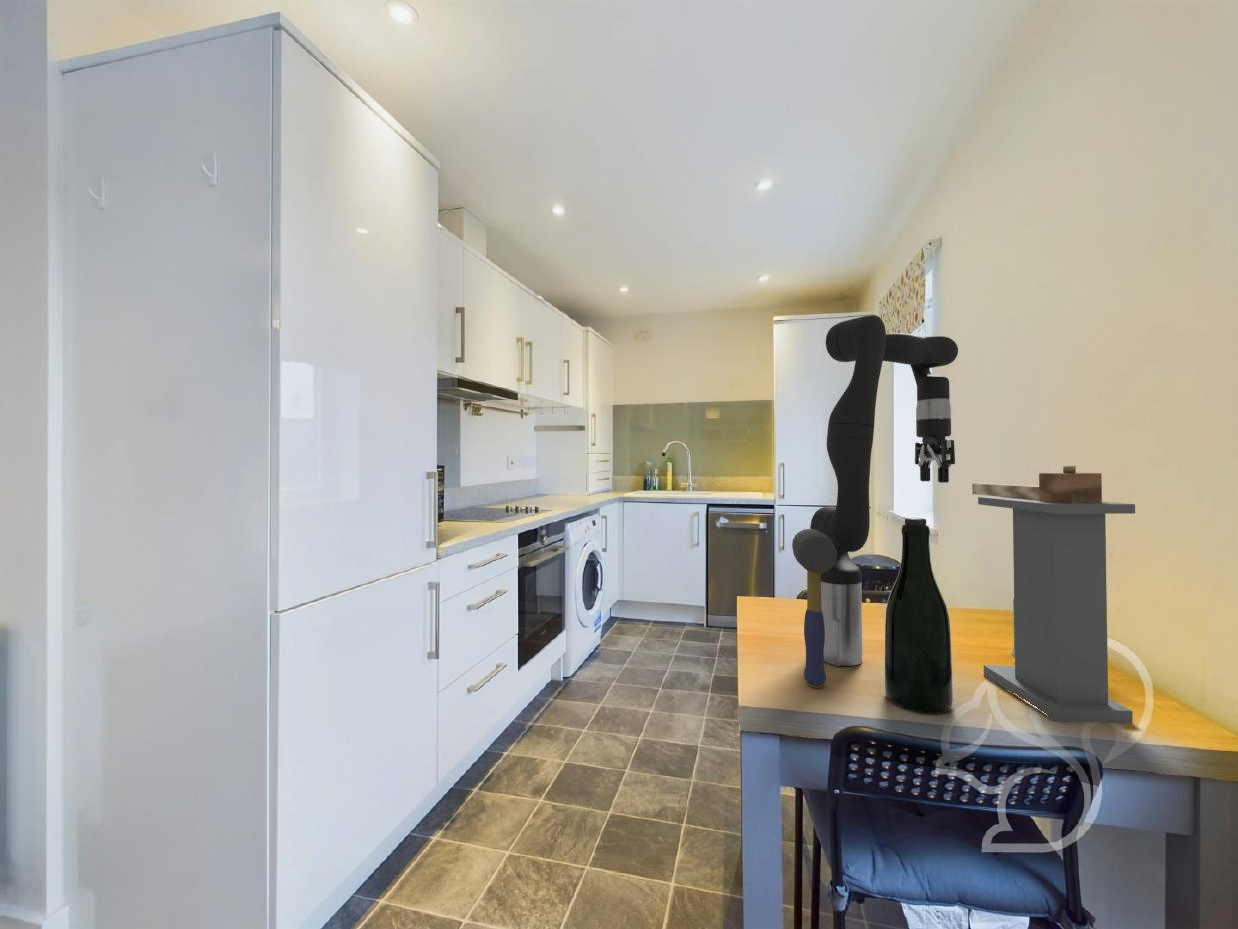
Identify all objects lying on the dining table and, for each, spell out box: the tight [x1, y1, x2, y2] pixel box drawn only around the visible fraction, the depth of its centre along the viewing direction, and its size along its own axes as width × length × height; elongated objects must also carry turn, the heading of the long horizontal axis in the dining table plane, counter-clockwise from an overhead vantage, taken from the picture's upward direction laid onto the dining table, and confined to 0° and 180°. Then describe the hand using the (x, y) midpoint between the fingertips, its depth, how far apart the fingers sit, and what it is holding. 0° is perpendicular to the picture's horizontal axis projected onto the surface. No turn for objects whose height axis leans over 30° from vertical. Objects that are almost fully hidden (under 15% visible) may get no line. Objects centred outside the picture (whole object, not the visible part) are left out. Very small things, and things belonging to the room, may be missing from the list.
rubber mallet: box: [791, 528, 837, 689], centre depth 96 cm, size 12×8×30 cm, turn 166°
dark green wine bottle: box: [884, 517, 954, 714], centre depth 89 cm, size 10×10×33 cm
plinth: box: [977, 496, 1136, 724], centre depth 91 cm, size 20×12×36 cm, turn 175°
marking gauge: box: [971, 465, 1103, 503], centre depth 97 cm, size 27×7×6 cm, turn 175°
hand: (934, 481), depth 126 cm, fingers open, 8 cm apart
